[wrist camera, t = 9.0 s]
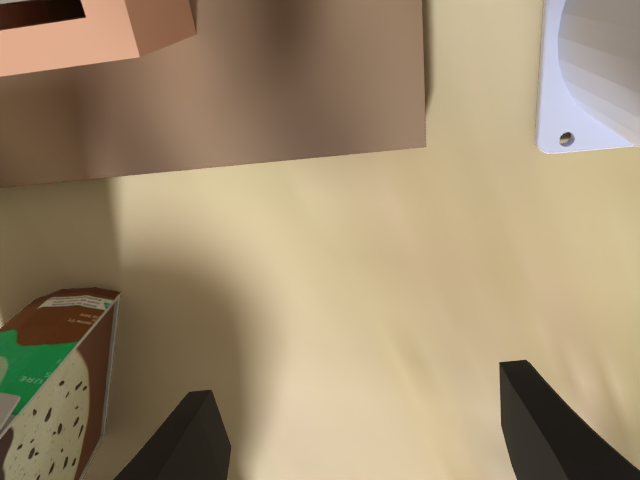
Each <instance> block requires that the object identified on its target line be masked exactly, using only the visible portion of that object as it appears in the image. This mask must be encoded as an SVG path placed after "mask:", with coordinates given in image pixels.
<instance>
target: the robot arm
mask: <svg viewBox="0 0 640 480" xmlns="http://www.w3.org/2000/svg"><path fill="white" fill-rule="evenodd" d="M566 132H570V134H571V137H570V139H569V140H568V141H567V142H566V143H563V144H562V143H560V142H559V139H560V136H561V135H562V134H564V133H566ZM535 145H536V146H537V147H538V149H539V150H540V151H542V152H543V153H545V154H556V153H567V152H578V151H589V150H600V149H611V148H622V147H633V146H637V147H639V148H640V0H544V5H543V20H542V36H541V51H540V66H539V81H538V97H537V112H536V127H535ZM499 365H500V400H501V426H502V430H503V434H504V438H505V442H506V445H507V449H508V453H509V457H510V460H511V464H512V467H513V470H514V472H515V475H516V478H517V480H640V470H638V469H637V468H636V467H635V466H633V465H632V464H631V463H630V462H629V461H628V460H626V459H625V458H624V457H623V456H622V455H620V454H619V453H618V452H617V451H616V450H615V449H614V448H613V447H611V446H610V445H609V444H608V443H607V442H606V441H605V440H604V439H602V438H601V437H600V436H599V435H598V434H597V433H596V432H595V431H594V430H593V429H592V428H591V427H590V426H589V425H588V424H587V423H586V422H585V421H584V420H583V419H582V418H580V417H579V416H578V415H577V414H576V413H575V412H574V411H573V410H572V409H571V408H570V407H569V406H568V405H567V404H566V402H565V401H564V400H563V399H562V398H561V397H560V396H559V395H558V394H557V393H556V392H555V391H554V390H553V389H552V388H551V386H550V385H549V384H548V383H547V382H546V381H545V380H544V379H543V378H542V376H541V375H540V374H539V373H538V372H537V371H536V369H535V368H534V367H533V366H532V365H531V363H529V362H528V361H527V360H519V361H509V362H499ZM230 452H231V445H230V442H229V439H228V436H227V433H226V430H225V427H224V425H223V422H222V419H221V416H220V413H219V410H218V407H217V404H216V401H215V398H214V395H213V392H212V390H205V391H194V392H189V393H188V394H187V395H186V396H185V397H184V399H183V400H182V401H181V402H180V403H179V405H178V406H177V407H176V408H175V409H174V411H173V412H172V413H171V414H170V415H169V417H168V418H167V419H166V420H165V422H164V423H163V424H162V425H161V426H160V428H159V429H158V430H157V431H156V432H155V434H154V435H153V436H152V437H151V438H150V440H149V441H148V442H147V443H146V444H145V445H144V447H143V448H142V449H141V450H140V451H139V452H138V454H137V455H136V456H135V457H134V458H133V459H132V460H131V462H130V463H129V464H128V465H127V466H126V467H125V468H124V469H123V470H122V471H121V472H120V473H119V475H118V476H117V477H116V478H115V479H114V480H227V474H228V468H229V460H230Z"/></svg>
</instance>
